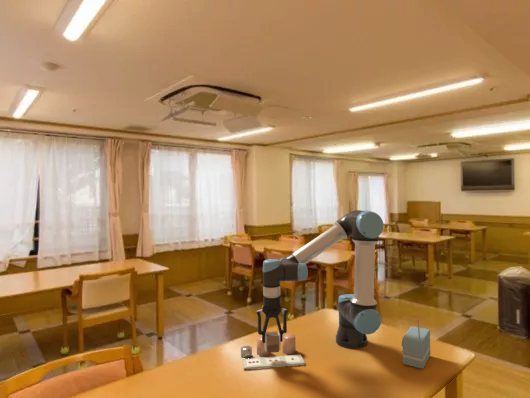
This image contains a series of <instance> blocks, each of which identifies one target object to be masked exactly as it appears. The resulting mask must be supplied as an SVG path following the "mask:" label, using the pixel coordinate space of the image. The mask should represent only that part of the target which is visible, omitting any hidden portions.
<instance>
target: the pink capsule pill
mask: <svg viewBox="0 0 530 398" xmlns="http://www.w3.org/2000/svg"><path fill="white" fill-rule="evenodd" d="M256 354H257V356H258V355H259V356H258V357H261V356H265V357H268V356H270V355H271V353H267V351H265V343H263V342H262V335H259V336H258V337H256ZM269 354H270V355H269ZM267 355H268V356H267Z"/></svg>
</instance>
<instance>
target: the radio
mask: <svg viewBox="0 0 530 398" xmlns="http://www.w3.org/2000/svg"><path fill="white" fill-rule="evenodd" d="M401 347H402V363H403V365H406V366H409V367H413V368H417V369H424V368H425V366H426V364H427V362H428V361H429V358H430V355H431V329H428V328H425V327H423V328H422V327H420V320H417V326H415V325H414V326H413V325H411V326H410V327H409V329H408V330H407V332H406V333H405V334H404V335H403V336H402V339H401Z"/></svg>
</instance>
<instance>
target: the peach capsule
mask: <svg viewBox="0 0 530 398" xmlns="http://www.w3.org/2000/svg"><path fill="white" fill-rule="evenodd" d="M296 343H297V342H296V335H294V334H292V333H284V334H283V341H282V353H283V354H284V355H288V354H289V355H295V354H296V352H297V350H296V346H297V345H296Z"/></svg>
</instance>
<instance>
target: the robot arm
mask: <svg viewBox="0 0 530 398" xmlns="http://www.w3.org/2000/svg"><path fill="white" fill-rule="evenodd" d="M384 225H385V224H384V221H383V219H382V217H381V216H380V215H379V214H378V213H376V212H374V211H371V210H359V209H357V210H353V211H350V212H348V213H347V214H344V216H342V217H341V218H339V219H338V220H336V221H335V222H334V223H333V225H332V226H331V227H329V228H328V229H327V230H325V231H324V232H323V233H321V234H319V235H318V236H316V237H315V238H313V239H312V240H311V241H309V242H308V243H305V244H304V245H303V246H302V247H300V248H299V249H297V250H295V251H294V252H293V253H291V254H289V255H288V256H286V257H281V258H280V259H277V258H269V259H265V260H263V262H262V295H263V297H262V308H261V309H257V310H256V314H257V333H258V335H259V336H262V342H263V343H265V351H267V335H266V332H267V329H268V325H269V321H270V319H271V318H272V319H273V318H274V319H275V321H276V325H277V329H278V335H279V351H281V343H283V335H285V334H287V332H288V329H287V327H288V326H287V315H288V309H287V307H286V308H282V305H281V300H282V299H281V282H283V283H284V282H301V281H306V280H307V279H308V275H309V271H308V266H307V264H308V263H309V262H311V261H312V260H313V259H315V258H317V257H318V256H319V255H321V254H322V253H324V252H326V251H327V250H329V248H331V247H333V246H335V245H336V244H337V243H339V242H341V241H342V240H343V239H344V240H347V239H348V238H350V237H351V241H352V242H353V244H354V281H353V283H354V284H353V285H354V286H353V293H347V294H346V293H345V294H341V295H339V296H338V302H337V303H338V304H337V305H338V328H337V330H336V334H335V342H336V344H337V345H339V346H341V347H344V348H346V349H347V348H348V349H362V348H364V347H367V345H368V343H369V342H368V336H367V335H371V334H374V333H376V331H378V330H379V329H380V327H381V325H382V317H381V315H380V313H379V311H378V302H377V300H376V299H375V297H374V295H375V262H376V261H375V257H376V256H375V255H376V254H375V253H376V249H375V248H376V244H378V243H379V239H380V236H381V235H382V233H383V231H384V228H385V227H384ZM280 313H281V314H282V325H281V322H280V319H279V315H280ZM263 314H264V315H265V318H264V322H263V326H262V315H263Z"/></svg>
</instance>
